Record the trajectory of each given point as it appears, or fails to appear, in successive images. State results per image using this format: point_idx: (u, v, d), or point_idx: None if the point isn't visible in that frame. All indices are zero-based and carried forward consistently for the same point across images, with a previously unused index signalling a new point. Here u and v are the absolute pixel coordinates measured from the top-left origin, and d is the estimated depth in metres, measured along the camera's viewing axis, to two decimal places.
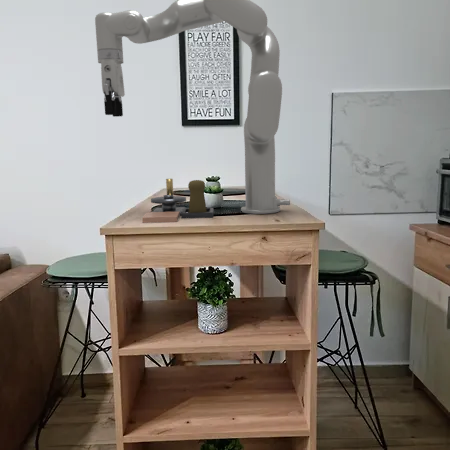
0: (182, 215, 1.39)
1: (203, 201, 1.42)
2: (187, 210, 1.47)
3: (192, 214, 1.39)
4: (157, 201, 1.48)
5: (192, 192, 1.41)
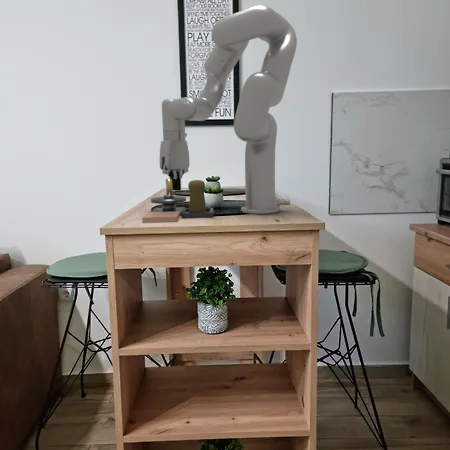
0: (182, 215, 1.39)
1: (203, 201, 1.42)
2: (187, 210, 1.47)
3: (192, 214, 1.39)
4: (157, 201, 1.48)
5: (192, 192, 1.41)
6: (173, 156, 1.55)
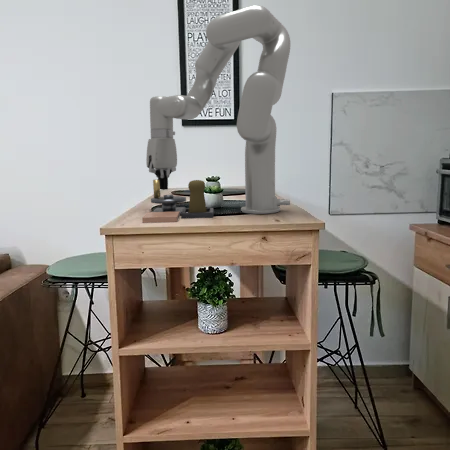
0: (182, 215, 1.39)
1: (203, 201, 1.42)
2: (187, 210, 1.47)
3: (192, 214, 1.39)
4: (174, 201, 1.48)
5: (192, 192, 1.41)
6: (160, 154, 1.53)
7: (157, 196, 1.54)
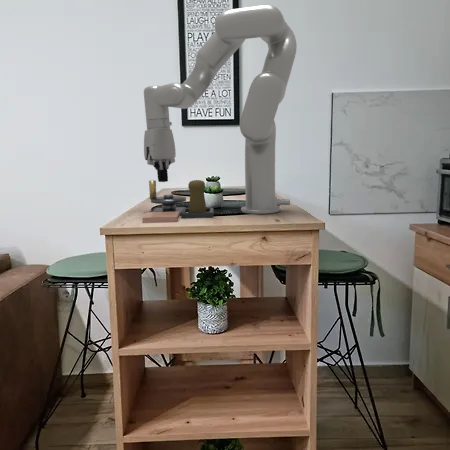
0: (182, 215, 1.39)
1: (203, 201, 1.42)
2: (187, 210, 1.47)
3: (192, 214, 1.39)
4: (184, 199, 1.51)
5: (192, 192, 1.41)
6: (158, 145, 1.49)
7: (155, 197, 1.51)
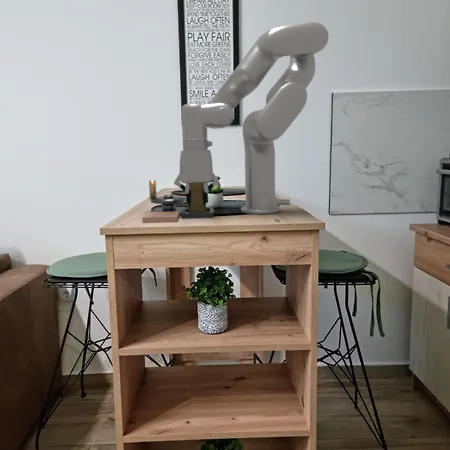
0: (182, 215, 1.39)
1: None
2: (187, 210, 1.47)
3: (192, 214, 1.39)
4: (184, 199, 1.51)
5: (192, 192, 1.41)
6: (187, 167, 1.39)
7: (155, 197, 1.51)
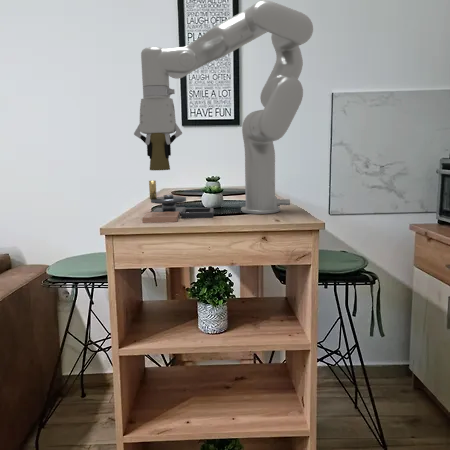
0: (182, 215, 1.39)
1: None
2: (187, 210, 1.47)
3: (192, 214, 1.39)
4: (184, 199, 1.51)
5: (153, 144, 1.33)
6: (148, 116, 1.31)
7: (155, 197, 1.51)
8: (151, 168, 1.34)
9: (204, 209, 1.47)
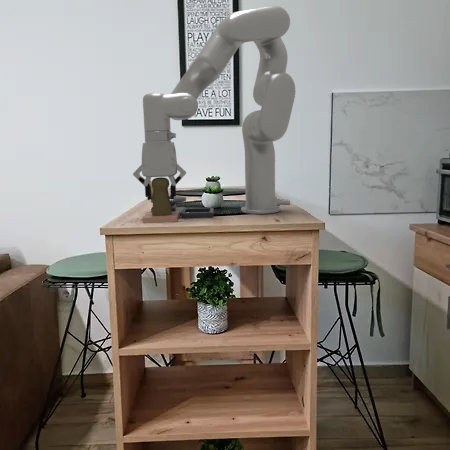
0: (182, 215, 1.39)
1: (167, 199, 1.36)
2: (187, 210, 1.47)
3: (192, 214, 1.39)
4: (184, 199, 1.51)
5: (155, 190, 1.35)
6: (149, 160, 1.33)
7: None
8: (153, 213, 1.36)
9: (204, 209, 1.47)
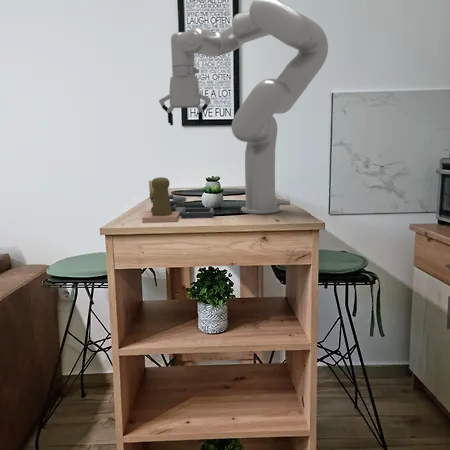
0: (182, 215, 1.39)
1: (167, 199, 1.36)
2: (187, 210, 1.47)
3: (192, 214, 1.39)
4: (184, 199, 1.51)
5: (155, 190, 1.35)
6: (176, 92, 1.53)
7: None
8: (153, 213, 1.36)
9: (204, 209, 1.47)
